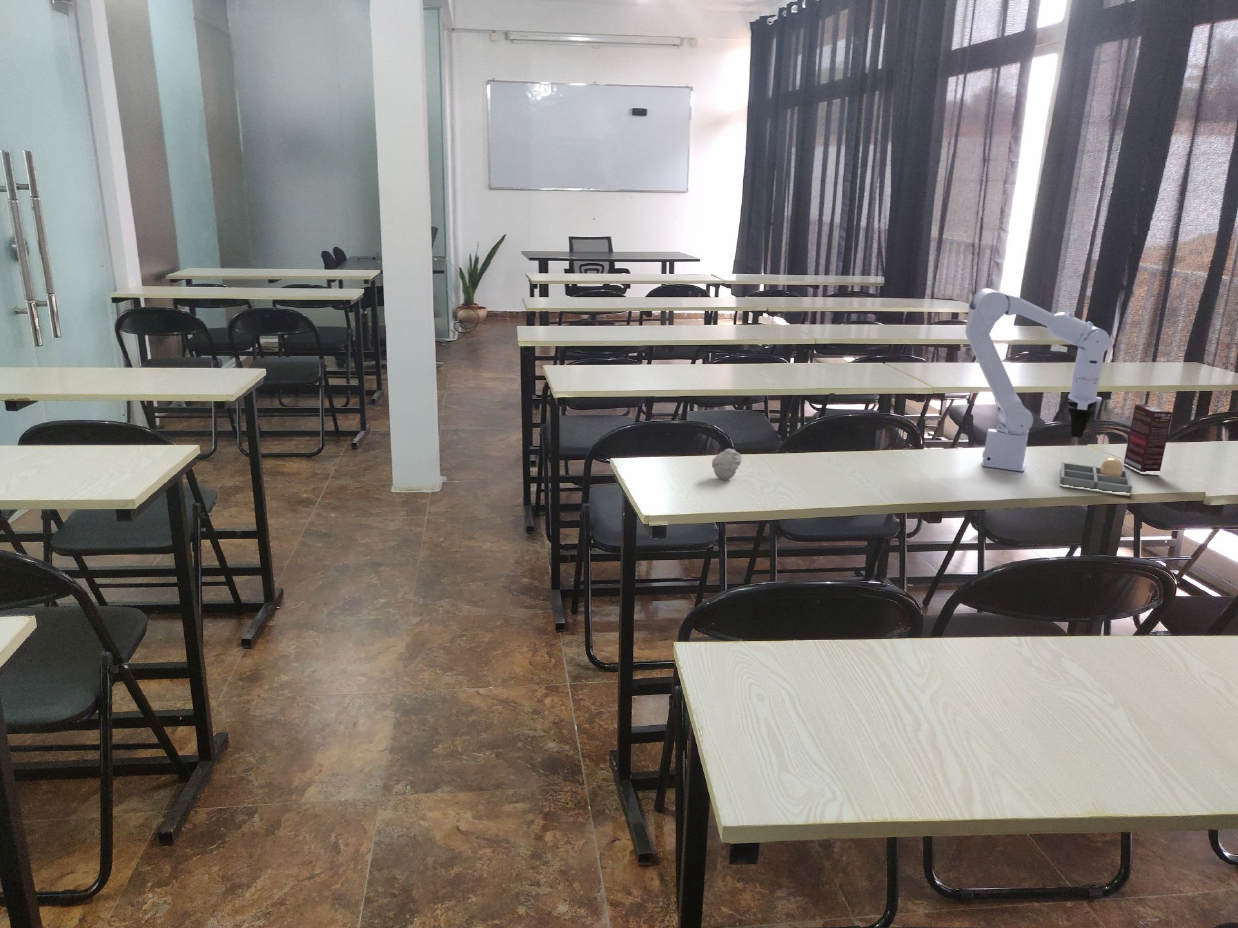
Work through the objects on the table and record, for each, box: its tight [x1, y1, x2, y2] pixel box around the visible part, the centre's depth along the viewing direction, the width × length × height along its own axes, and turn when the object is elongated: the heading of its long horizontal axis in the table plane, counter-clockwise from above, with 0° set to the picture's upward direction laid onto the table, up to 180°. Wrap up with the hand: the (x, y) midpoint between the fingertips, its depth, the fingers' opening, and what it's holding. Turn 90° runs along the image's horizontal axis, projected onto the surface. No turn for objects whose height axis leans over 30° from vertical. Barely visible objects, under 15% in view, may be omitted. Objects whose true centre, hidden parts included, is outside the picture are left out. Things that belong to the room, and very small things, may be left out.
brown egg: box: [1100, 457, 1124, 477], centre depth 208 cm, size 4×4×5 cm
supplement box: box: [1123, 403, 1173, 472], centre depth 217 cm, size 9×5×16 cm, turn 179°
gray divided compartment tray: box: [1059, 461, 1133, 493], centre depth 207 cm, size 14×14×2 cm
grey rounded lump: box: [711, 448, 742, 481], centre depth 201 cm, size 6×7×7 cm
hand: (1076, 433), depth 215 cm, fingers open, 7 cm apart
